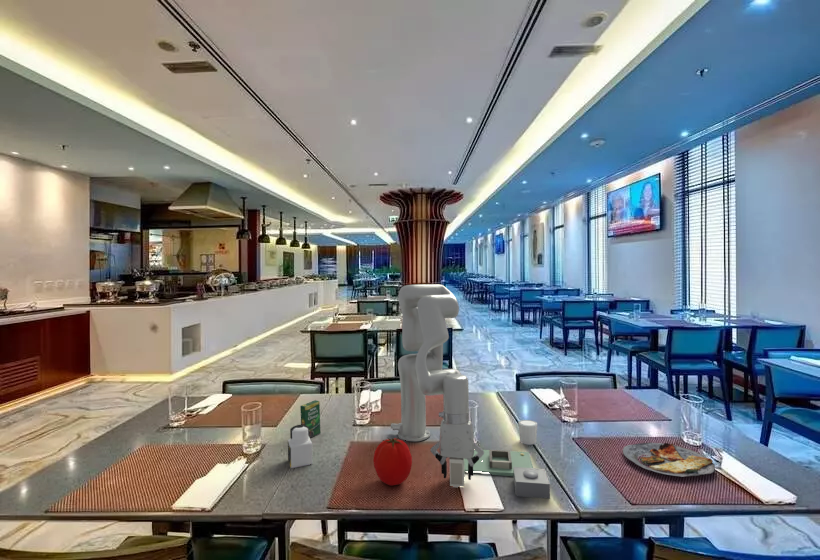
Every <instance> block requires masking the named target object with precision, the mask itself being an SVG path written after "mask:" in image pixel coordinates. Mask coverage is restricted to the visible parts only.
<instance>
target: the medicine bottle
mask: <svg viewBox="0 0 820 560" xmlns="http://www.w3.org/2000/svg"><path fill="white" fill-rule="evenodd" d="M289 430H290V433H289V434H290V435H289V437H290V438H289V439H287V461H288V464H289V467H290V468H291V469H294V468H300V467H305V466H306V467H307V466H310V464H311V465H313V442H312V440H311V438H309V427H308V426H307V425H301V424H296V425H294V426H292V427H291V428H290V429H289Z"/></svg>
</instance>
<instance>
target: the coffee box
mask: <svg viewBox="0 0 820 560" xmlns="http://www.w3.org/2000/svg"><path fill="white" fill-rule="evenodd" d="M320 402H321V401H320V400H316V399H315V400H313V401H310V402H308V403H305V404H302V405H300V406H299V408H300V425H307V426H308V427H309V438H310V437H311V438H313V437H315V435H316V436H318V435H320V434H321V412H320V410H321V409H320V408H321V406H320V405H321V404H320ZM317 434H318V435H317ZM311 438H310V439H311Z"/></svg>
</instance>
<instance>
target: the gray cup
mask: <svg viewBox="0 0 820 560" xmlns="http://www.w3.org/2000/svg"><path fill="white" fill-rule="evenodd" d="M517 422H518V431H519V432H518V433H519V441H520V443H522V444H523V445H527V446H529V445H530V446H533V445H536V444H537V436H538V435H537V433H538V422H537V421H535V420H530V419H522V420H519V421H517Z"/></svg>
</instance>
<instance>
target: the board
mask: <svg viewBox="0 0 820 560" xmlns="http://www.w3.org/2000/svg"><path fill="white" fill-rule="evenodd" d="M482 450H483V451H484V455H483V456H482V457H481V458H480V459H479V460H478V461H477V462H476V463H475V464H474V466H473V471H482V472H489V473H490V474H492V475H491V476H506V477H514V473H513V467H523V468H534V466H533V461H532V459H531V455H530V452H529V451H514V450H513V451H512V450H509V451H510V454H511V460H512V469H503V468H490V460H489V450H490V449H482ZM477 453H478V452H477V451H476V450H474V456H475V455H476V454H477ZM474 456H473V457H474ZM482 460H483V462H481V461H482ZM492 460H495V461H508V458H503V457H492ZM468 463H469V462H468V460H467V459H464V465H465V471H468Z"/></svg>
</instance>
